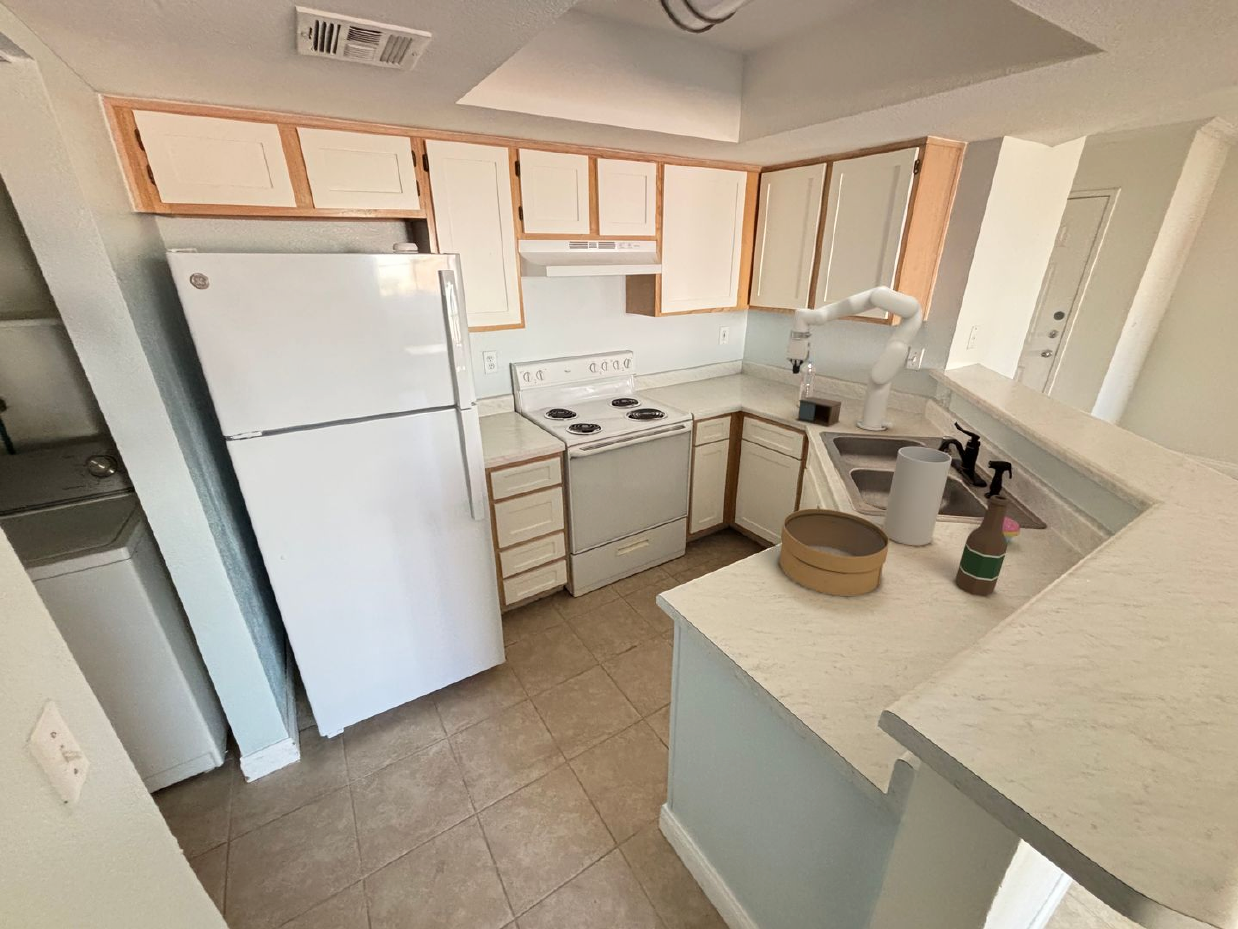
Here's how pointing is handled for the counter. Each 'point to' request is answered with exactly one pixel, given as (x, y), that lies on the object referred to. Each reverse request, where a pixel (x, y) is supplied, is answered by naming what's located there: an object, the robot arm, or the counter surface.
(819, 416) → the cabinet
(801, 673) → the counter surface
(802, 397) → the glass door
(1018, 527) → the cupcake
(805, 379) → the water bottle
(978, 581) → the beer bottle
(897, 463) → the cylinder vase
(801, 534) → the steamer basket
